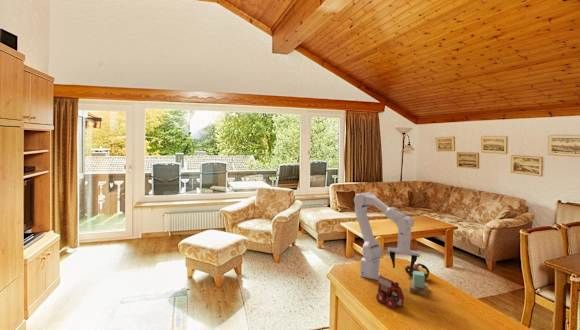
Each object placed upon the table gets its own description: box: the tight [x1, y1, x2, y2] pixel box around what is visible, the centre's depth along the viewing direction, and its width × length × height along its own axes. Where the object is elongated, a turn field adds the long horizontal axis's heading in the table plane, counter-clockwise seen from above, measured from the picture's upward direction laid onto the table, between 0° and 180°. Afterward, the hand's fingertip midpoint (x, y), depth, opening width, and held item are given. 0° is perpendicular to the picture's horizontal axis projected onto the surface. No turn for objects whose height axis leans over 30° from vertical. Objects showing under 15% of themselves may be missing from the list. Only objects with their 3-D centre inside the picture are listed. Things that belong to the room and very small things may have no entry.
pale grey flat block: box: [409, 279, 429, 297], centre depth 148 cm, size 8×8×3 cm
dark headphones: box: [404, 262, 430, 280], centre depth 162 cm, size 12×10×8 cm
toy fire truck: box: [376, 275, 405, 309], centre depth 135 cm, size 7×12×10 cm, turn 39°
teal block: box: [412, 270, 426, 288], centre depth 147 cm, size 4×4×6 cm
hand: (402, 268), depth 148 cm, fingers open, 7 cm apart
